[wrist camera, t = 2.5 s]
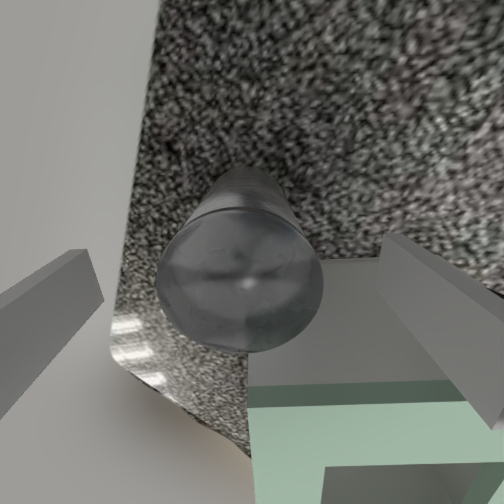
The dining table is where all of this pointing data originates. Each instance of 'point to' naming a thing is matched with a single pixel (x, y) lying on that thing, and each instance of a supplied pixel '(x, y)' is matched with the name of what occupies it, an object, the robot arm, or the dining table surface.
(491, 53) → the dining table surface
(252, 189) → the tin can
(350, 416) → the caddy
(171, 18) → the dining table surface
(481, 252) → the dining table surface
